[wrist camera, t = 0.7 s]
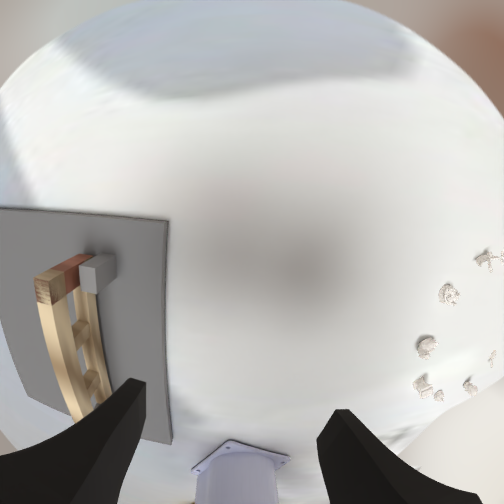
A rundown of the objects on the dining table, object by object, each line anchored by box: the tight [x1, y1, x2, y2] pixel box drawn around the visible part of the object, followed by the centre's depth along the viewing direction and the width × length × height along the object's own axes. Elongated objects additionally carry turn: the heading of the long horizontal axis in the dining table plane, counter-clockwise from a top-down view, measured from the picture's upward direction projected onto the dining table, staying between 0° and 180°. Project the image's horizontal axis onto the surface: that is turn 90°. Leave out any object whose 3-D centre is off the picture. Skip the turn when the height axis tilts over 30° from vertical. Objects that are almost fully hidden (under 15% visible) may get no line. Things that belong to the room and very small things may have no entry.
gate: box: [33, 254, 112, 423], centre depth 15 cm, size 15×2×5 cm, turn 173°
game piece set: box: [413, 249, 504, 402], centre depth 19 cm, size 19×20×4 cm
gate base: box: [0, 208, 173, 445], centre depth 17 cm, size 22×19×4 cm
